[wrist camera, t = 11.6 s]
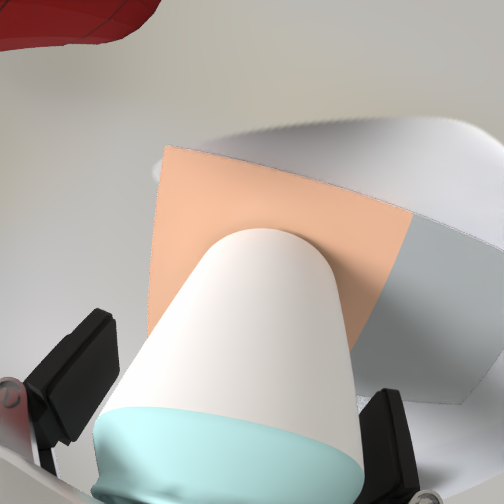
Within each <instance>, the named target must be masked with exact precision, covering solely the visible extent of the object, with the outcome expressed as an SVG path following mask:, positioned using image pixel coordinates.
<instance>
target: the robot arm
mask: <svg viewBox="0 0 504 504" xmlns="http://www.w3.org/2000/svg"><path fill="white" fill-rule="evenodd" d="M119 371H120V367H119V357H118V346H117V332H116V321H115V319H113V317H112V314H111V313H108V312H106V311H104V310H101V309H99V308H96V309H94V310H93V311H92V312H91V313H90V314H89V315H88V316H87V317H86V318H85V319H84V320H83V321H82V322H81V323H80V324H79V325H78V326H77V328H75V330H74V331H73V332H72V333H71V334H69V335H66V336H65V337H64V338H63V339H62V340H61V341H60V342H59V343H58V344H57V346H55V348H54V349H53V350H52V351H51V352H50V353H49V354H48V355H47V356H46V357H45V358H44V359H43V360H42V361H41V363H40V364H39V365H38V366H37V367H36V368H35V369H34V370H33V371H32V373H31V374H30V375H29V376H28V377H27V378H26V379H25V381H24V382H23V383H22V382H20V381H19V380H18V379H16V378H12V377H4V378H1V379H0V504H105V503H103V502H101V501H99V500H97V499H95V498H93V497H91V496H89V495H87V494H86V493H84V492H82V491H80V490H78V489H76V488H74V487H73V486H71V485H69V484H67V483H66V482H64V481H62V480H61V476H60V472H59V468H58V464H57V459H56V455H55V450H54V447H55V445H56V444H57V442H58V441H60V442H62V443H64V444H65V445H67V446H69V444H70V442H71V441H72V442H75V441H76V440H77V439H78V437H79V436H80V434H81V433H82V431H83V430H84V428H85V426H86V425H87V423H88V422H89V420H90V419H91V417H92V416H93V414H94V412H95V411H96V409H97V408H98V406H99V405H100V403H101V402H102V400H103V398H104V397H105V395H106V394H107V392H108V391H109V389H110V388H111V386H112V385H113V383H114V382H115V380H116V379H117V377H118V375H119ZM359 423H360V432H361V441H362V452H363V463H364V476H365V477H364V484H363V487H362V490H361V493H360V494H359V496H358V497H357V499H356V500H355V501H354V503H353V504H443V501H442V499H441V497H440V495H439V494H438V493H436V492H435V491H433V490H429V489H424V490H421V491H420V485H419V478H418V472H417V467H416V461H415V456H414V451H413V446H412V441H411V436H410V432H409V428H408V424H407V419H406V415H405V411H404V407H403V403H402V399H401V395H400V392H399V390H396V389H388V388H383V389H381V390H380V391H377V392H376V393H375V394H374V396H373V397H372V398H371V400H370V401H369V402H368V404H367V405H366V406H365V407H364V409H363V410H362V411H361V413H360V414H359Z"/></svg>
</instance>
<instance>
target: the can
mask: <svg viewBox="0 0 504 504" xmlns="http://www.w3.org/2000/svg"><path fill="white" fill-rule="evenodd" d="M93 443H94V450H95V455H96V461H97V466H98V471H99V478H98V480H97V482H96V484H95V485H93V486H92V488H91V494H92V496H93V498H95V499H97V500H99V501H101V502H103V503H105V504H353V503H354V501H355V500H356V499H357V497H358V496H359V494H360V493H361V490H362V487H363V484H364V477H365V476H364V463H363V452H362V441H361V432H360V423H359V415H358V407H357V399H356V392H355V385H354V378H353V371H352V365H351V359H350V353H349V347H348V341H347V335H346V330H345V325H344V319H343V314H342V309H341V304H340V299H339V294H338V289H337V285H336V280H335V277H334V274H333V272H332V269H331V267H330V266H329V264H328V262H327V261H326V259H325V258H324V257H323V256H322V254H321V253H320V252H319V251H318V250H317V249H316V248H315V247H313V246H312V245H311V244H309V243H308V242H307V241H305V240H303V239H302V238H300V237H297V236H295V235H293V234H290V233H288V232H284V231H280V230H275V229H266V228H256V229H247V230H243V231H239V232H236V233H233V234H231V235H228V236H226V237H224V238H223V239H221V240H219V241H218V242H217V243H215V244H214V245H213V246H212V247H211V248H210V249H209V250H208V251H207V252H206V253H205V255H204V256H203V258H202V259H201V260H200V262H199V263H198V265H197V266H196V268H195V269H194V270H193V272H192V273H191V275H190V276H189V278H188V279H187V281H186V282H185V283H184V285H183V286H182V288H181V289H180V291H179V292H178V294H177V295H176V297H175V298H174V300H173V301H172V303H171V304H170V306H169V307H168V309H167V310H166V312H165V313H164V315H163V316H162V318H161V319H160V321H159V322H158V324H157V325H156V327H155V328H154V330H153V331H152V333H151V334H150V336H149V337H148V339H147V340H146V342H145V343H144V345H143V347H142V348H141V350H140V351H139V353H138V354H137V356H136V357H135V359H134V360H133V362H132V364H131V365H130V367H129V368H128V370H127V371H126V373H125V374H124V376H123V378H122V379H121V381H120V383H119V384H118V386H117V387H116V389H115V391H114V392H113V394H112V395H111V397H110V398H109V400H108V402H107V403H106V405H105V407H104V408H103V410H102V411H101V413H100V415H99V416H98V418H97V420H96V422H95V424H94V429H93Z"/></svg>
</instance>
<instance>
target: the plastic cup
mask: <svg viewBox="0 0 504 504" xmlns="http://www.w3.org/2000/svg"><path fill="white" fill-rule="evenodd" d="M160 2H161V0H0V51H8V50H16V49H24V48H35V47H48V46H64V45H66V44H96V45H97V44H101V43H108V42H112V41H116V40H119V39H123V38H124V37H126V36H128V35H129V34H131V33H132V32H134V31H136V30H137V29H139V28H140V27H141V26H142V25H143V24H144V23H145V22H146V21H147V20H148V19H149V18H150V17H151V16H152V15H153V14H154V12H155V11H156V9H157V7H158V5H159V3H160Z"/></svg>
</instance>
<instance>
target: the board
mask: <svg viewBox="0 0 504 504" xmlns="http://www.w3.org/2000/svg"><path fill="white" fill-rule="evenodd" d="M256 228H266V229H275V230H280V231H284V232H288V233H290V234H293V235H295V236H297V237H300V238H302V239H303V240H305V241H307V242H308V243H309V244H311V245H312V246H313V247H315V248H316V249H317V250H318V251H319V252H320V253H321V254H322V256H323V257H324V258H325V259H326V261H327V262H328V264H329V266H330V267H331V269H332V272H333V274H334V277H335V280H336V285H337V289H338V294H339V299H340V304H341V309H342V314H343V319H344V325H345V330H346V335H347V341H348V347H349V353H350V359H351V365H352V371H353V378H354V385H355V392H356V395H360V396H367V397H373V396H374V394H375V393H376V392H377V391H380V390H381V389H383V388H388V389H396V390H399V392H400V395H401V399H402V401H411V402H423V403H438V404H461V403H462V402H463V401H464V400H465V399H466V398H467V396H468V395H469V394H470V393H471V392H472V390H473V389H474V388H475V387H476V386H477V384H478V383H479V382H480V381H481V379H482V378H483V377H484V375H485V374H486V373H487V371H488V370H489V369H490V367H491V366H492V365H493V363H494V362H495V361H496V359H497V358H498V356H499V355H500V354H501V352H502V351H503V349H504V250H502V249H500V248H498V247H495V246H493V245H491V244H489V243H487V242H485V241H482V240H480V239H478V238H476V237H473V236H471V235H469V234H467V233H464V232H462V231H460V230H457V229H455V228H452V227H450V226H448V225H445V224H443V223H440V222H438V221H435V220H433V219H430V218H428V217H425V216H423V215H420V214H417V213H415V212H412V211H409V210H407V209H404V208H401V207H398V206H396V205H393V204H390V203H387V202H384V201H382V200H379V199H376V198H373V197H370V196H367V195H364V194H361V193H358V192H355V191H352V190H348V189H345V188H342V187H339V186H336V185H332V184H329V183H326V182H322V181H319V180H316V179H312V178H309V177H305V176H302V175H298V174H295V173H291V172H287V171H283V170H280V169H276V168H272V167H268V166H264V165H260V164H256V163H252V162H248V161H244V160H239V159H235V158H231V157H226V156H222V155H217V154H212V153H208V152H203V151H198V150H193V149H188V148H183V147H177V146H172V145H168V146H165V149H164V155H163V161H162V167H161V174H160V181H159V188H158V196H157V204H156V212H155V221H154V230H153V240H152V253H151V265H150V279H149V297H148V325H147V339H148V337H149V336H150V334H151V333H152V331H153V330H154V328H155V327H156V325H157V324H158V322H159V321H160V319H161V318H162V316H163V315H164V313H165V312H166V310H167V309H168V307H169V306H170V304H171V303H172V301H173V300H174V298H175V297H176V295H177V294H178V292H179V291H180V289H181V288H182V286H183V285H184V283H185V282H186V281H187V279H188V278H189V276H190V275H191V273H192V272H193V270H194V269H195V268H196V266H197V265H198V263H199V262H200V260H201V259H202V258H203V256H204V255H205V253H206V252H207V251H208V250H209V249H210V248H211V247H212V246H213V245H214V244H215V243H217V242H218V241H219V240H221V239H223V238H224V237H226V236H228V235H231V234H233V233H236V232H239V231H243V230H247V229H256Z"/></svg>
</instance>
